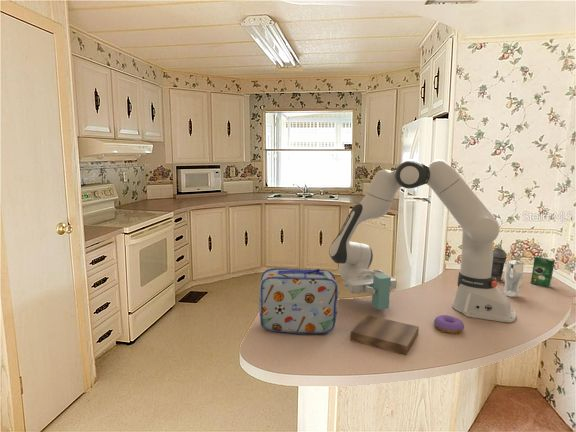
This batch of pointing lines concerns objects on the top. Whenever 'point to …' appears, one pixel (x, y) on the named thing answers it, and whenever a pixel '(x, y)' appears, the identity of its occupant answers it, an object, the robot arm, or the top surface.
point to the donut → (449, 324)
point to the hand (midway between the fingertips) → (382, 291)
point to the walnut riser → (385, 334)
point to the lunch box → (298, 300)
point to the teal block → (381, 291)
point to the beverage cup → (498, 263)
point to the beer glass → (512, 277)
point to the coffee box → (542, 271)
